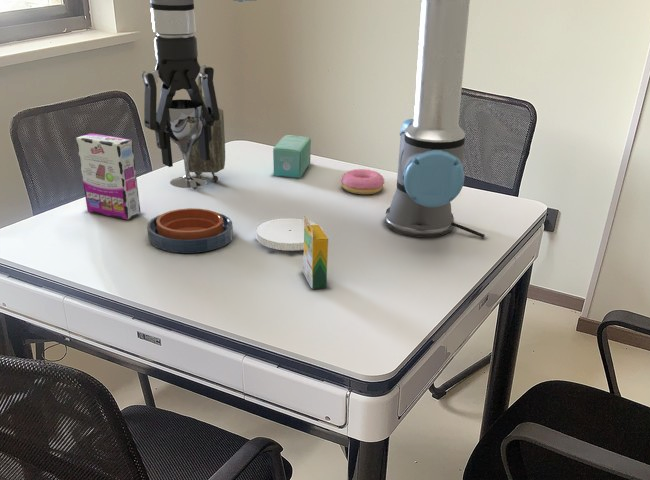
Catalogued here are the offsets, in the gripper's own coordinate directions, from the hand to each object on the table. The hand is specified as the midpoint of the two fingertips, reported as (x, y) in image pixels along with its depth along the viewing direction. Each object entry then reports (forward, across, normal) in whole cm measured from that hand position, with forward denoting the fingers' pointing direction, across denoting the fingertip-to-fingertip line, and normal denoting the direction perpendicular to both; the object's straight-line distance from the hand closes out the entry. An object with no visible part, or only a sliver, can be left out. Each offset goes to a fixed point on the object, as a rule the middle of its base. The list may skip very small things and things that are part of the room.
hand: (186, 161), depth 143 cm
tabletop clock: (+16, -21, -30) cm, 40 cm away
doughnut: (+17, -51, -5) cm, 54 cm away
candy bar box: (+16, +7, -22) cm, 28 cm away
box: (+16, -45, -27) cm, 55 cm away
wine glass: (+4, 0, 0) cm, 4 cm away
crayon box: (+17, -9, +31) cm, 36 cm away
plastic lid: (+16, -16, +13) cm, 26 cm away
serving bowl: (+16, 0, 0) cm, 16 cm away
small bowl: (+16, 0, 0) cm, 16 cm away
